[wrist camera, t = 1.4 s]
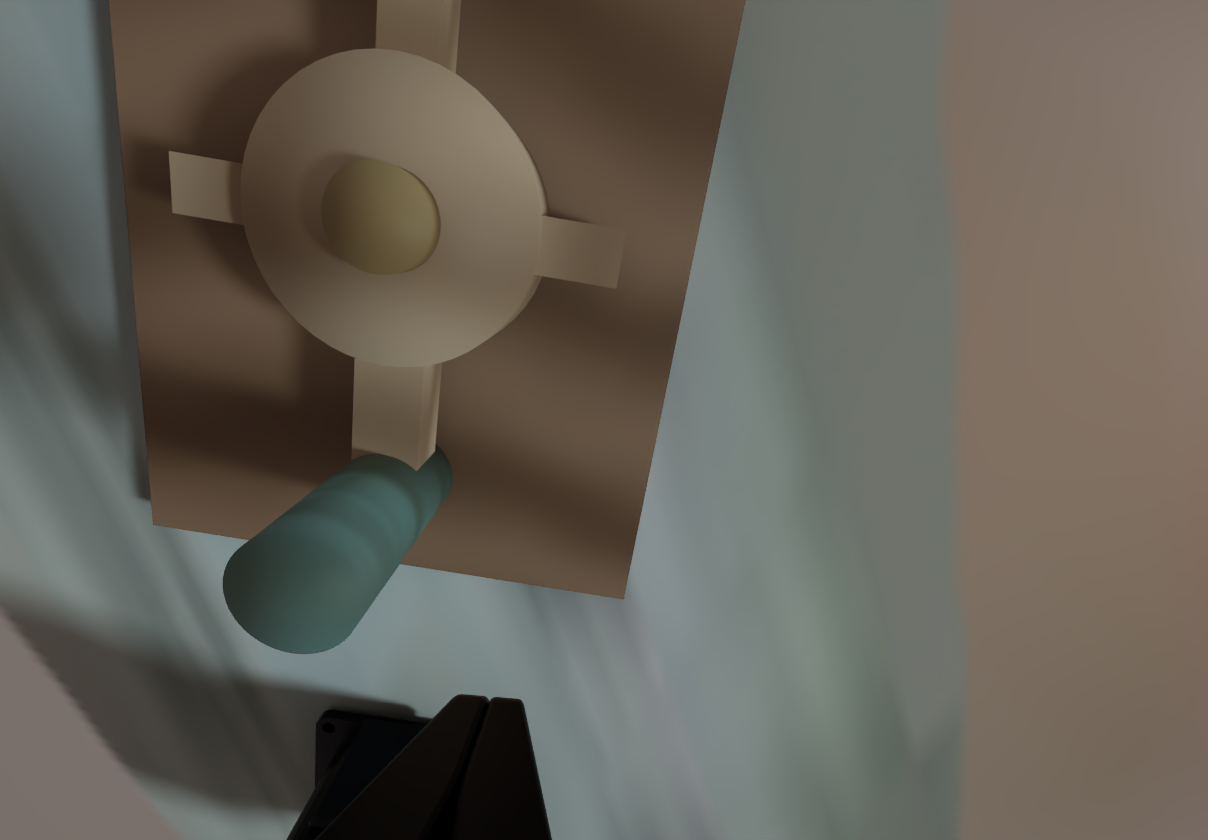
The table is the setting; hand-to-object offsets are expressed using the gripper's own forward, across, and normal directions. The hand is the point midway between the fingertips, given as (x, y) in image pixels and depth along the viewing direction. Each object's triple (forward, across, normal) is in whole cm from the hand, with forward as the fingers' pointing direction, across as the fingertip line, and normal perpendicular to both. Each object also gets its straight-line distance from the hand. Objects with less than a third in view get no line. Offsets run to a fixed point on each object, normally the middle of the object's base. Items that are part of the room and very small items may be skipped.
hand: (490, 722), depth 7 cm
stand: (+12, +5, -5) cm, 14 cm away
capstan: (+11, +4, -4) cm, 12 cm away
